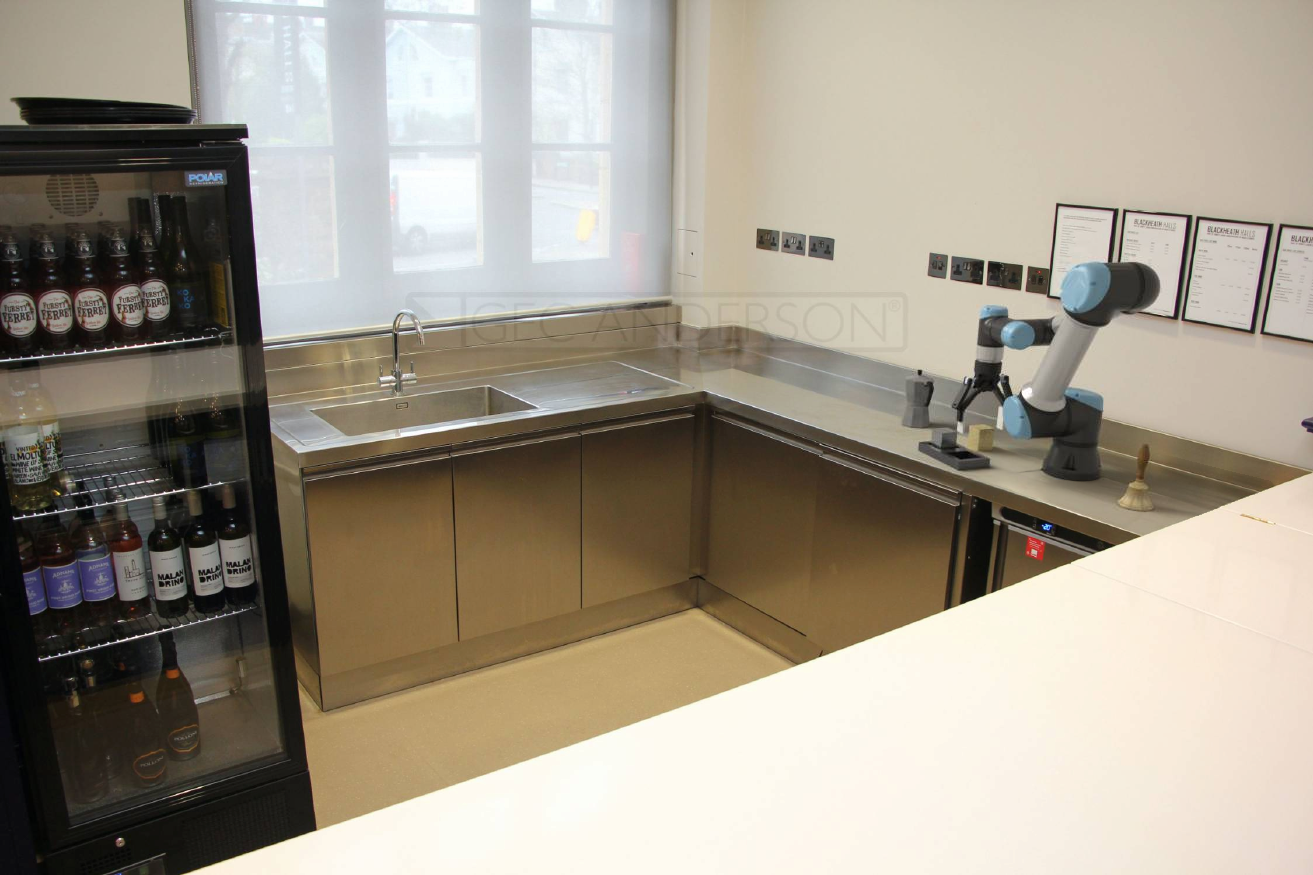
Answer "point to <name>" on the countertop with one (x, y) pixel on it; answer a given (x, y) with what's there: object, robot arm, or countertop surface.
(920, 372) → the coffeepot
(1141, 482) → the hand bell
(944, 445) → the grey block
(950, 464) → the dark grey tray
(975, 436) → the yellow block
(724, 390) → the countertop surface
